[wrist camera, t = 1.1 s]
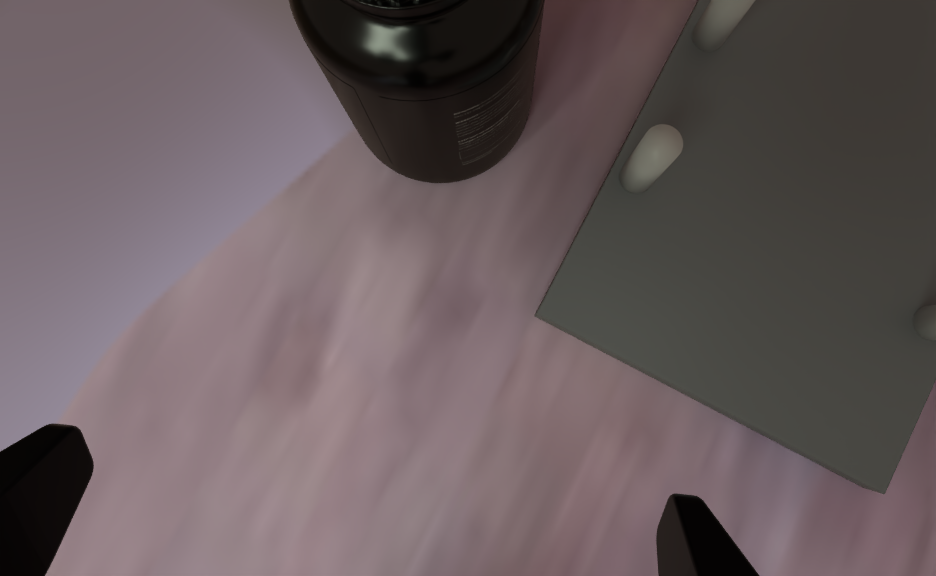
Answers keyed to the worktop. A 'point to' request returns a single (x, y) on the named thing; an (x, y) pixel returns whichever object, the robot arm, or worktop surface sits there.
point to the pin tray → (777, 227)
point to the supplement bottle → (429, 77)
